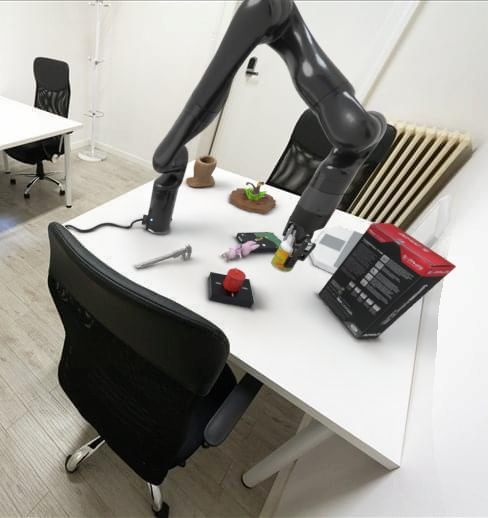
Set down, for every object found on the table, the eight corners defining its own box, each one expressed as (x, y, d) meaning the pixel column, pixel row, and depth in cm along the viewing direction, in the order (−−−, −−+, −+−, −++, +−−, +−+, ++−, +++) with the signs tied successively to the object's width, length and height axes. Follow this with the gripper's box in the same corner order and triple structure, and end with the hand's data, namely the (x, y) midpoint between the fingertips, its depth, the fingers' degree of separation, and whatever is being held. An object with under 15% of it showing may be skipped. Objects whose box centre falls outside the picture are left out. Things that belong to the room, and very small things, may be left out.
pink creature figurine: (229, 267, 102) (263, 252, 105) (232, 255, 98) (267, 239, 101) (217, 257, 106) (250, 242, 109) (219, 245, 102) (253, 230, 105)
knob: (241, 293, 86) (247, 280, 83) (224, 290, 87) (229, 277, 84) (238, 281, 90) (244, 269, 87) (221, 279, 91) (227, 266, 87)
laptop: (327, 226, 123) (366, 166, 106) (398, 253, 110) (455, 189, 94) (302, 260, 105) (344, 193, 88) (383, 296, 92) (451, 227, 75)
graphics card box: (379, 340, 79) (463, 264, 61) (355, 341, 78) (433, 265, 61) (335, 294, 92) (393, 221, 74) (314, 294, 91) (369, 221, 74)
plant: (223, 204, 135) (231, 181, 128) (235, 189, 148) (242, 168, 141) (269, 218, 127) (280, 194, 120) (277, 201, 140) (287, 179, 132)
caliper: (188, 256, 104) (192, 242, 100) (189, 258, 103) (193, 244, 99) (135, 267, 98) (138, 252, 94) (137, 269, 97) (139, 254, 93)
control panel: (209, 300, 88) (212, 293, 86) (207, 278, 95) (210, 271, 93) (250, 308, 86) (254, 301, 84) (246, 285, 93) (249, 278, 91)
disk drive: (247, 254, 106) (285, 252, 108) (250, 248, 104) (288, 247, 106) (234, 238, 114) (269, 236, 116) (237, 232, 112) (272, 231, 114)
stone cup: (193, 191, 144) (201, 162, 135) (182, 181, 153) (189, 152, 143) (220, 189, 147) (229, 160, 138) (208, 179, 156) (216, 151, 147)
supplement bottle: (266, 260, 82) (281, 232, 76) (284, 259, 82) (300, 231, 76) (276, 273, 78) (293, 244, 72) (295, 272, 78) (314, 244, 72)
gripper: (291, 189, 74) (264, 243, 85) (308, 218, 63) (275, 274, 74) (323, 194, 73) (292, 247, 84) (346, 223, 62) (306, 280, 73)
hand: (284, 260), depth 79 cm, fingers closed on supplement bottle, 5 cm apart
